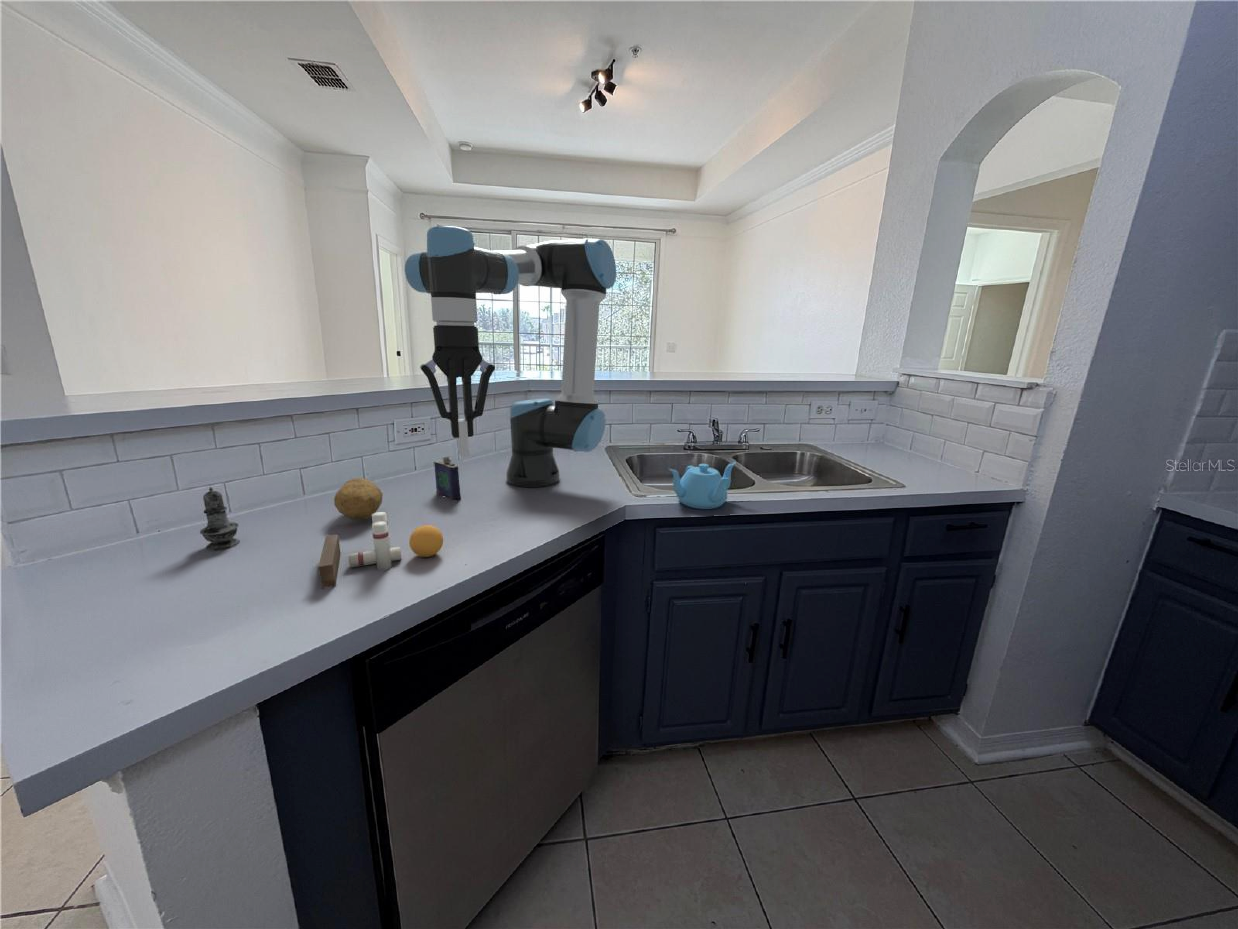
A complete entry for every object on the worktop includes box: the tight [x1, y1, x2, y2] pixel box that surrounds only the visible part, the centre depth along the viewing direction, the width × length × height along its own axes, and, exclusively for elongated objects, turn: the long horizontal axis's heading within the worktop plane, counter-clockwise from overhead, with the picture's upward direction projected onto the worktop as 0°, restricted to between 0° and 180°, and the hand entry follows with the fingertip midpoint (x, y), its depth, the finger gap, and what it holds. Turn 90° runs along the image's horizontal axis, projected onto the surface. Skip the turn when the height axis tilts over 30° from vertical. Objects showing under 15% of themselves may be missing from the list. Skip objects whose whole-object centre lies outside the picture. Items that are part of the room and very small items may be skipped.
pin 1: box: [371, 511, 391, 547], centre depth 91 cm, size 2×2×8 cm
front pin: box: [348, 546, 402, 568], centre depth 89 cm, size 2×2×8 cm
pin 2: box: [371, 521, 393, 571], centre depth 87 cm, size 2×2×8 cm
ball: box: [409, 524, 444, 558], centre depth 92 cm, size 6×6×6 cm
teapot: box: [668, 461, 737, 510], centre depth 124 cm, size 15×15×10 cm
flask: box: [433, 455, 462, 502], centre depth 123 cm, size 9×3×11 cm, turn 50°
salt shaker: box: [199, 486, 241, 552], centre depth 93 cm, size 6×6×12 cm
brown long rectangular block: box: [318, 534, 342, 589], centre depth 86 cm, size 2×13×4 cm, turn 26°
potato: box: [333, 477, 383, 521], centre depth 109 cm, size 10×14×8 cm
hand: (463, 453), depth 91 cm, fingers closed
